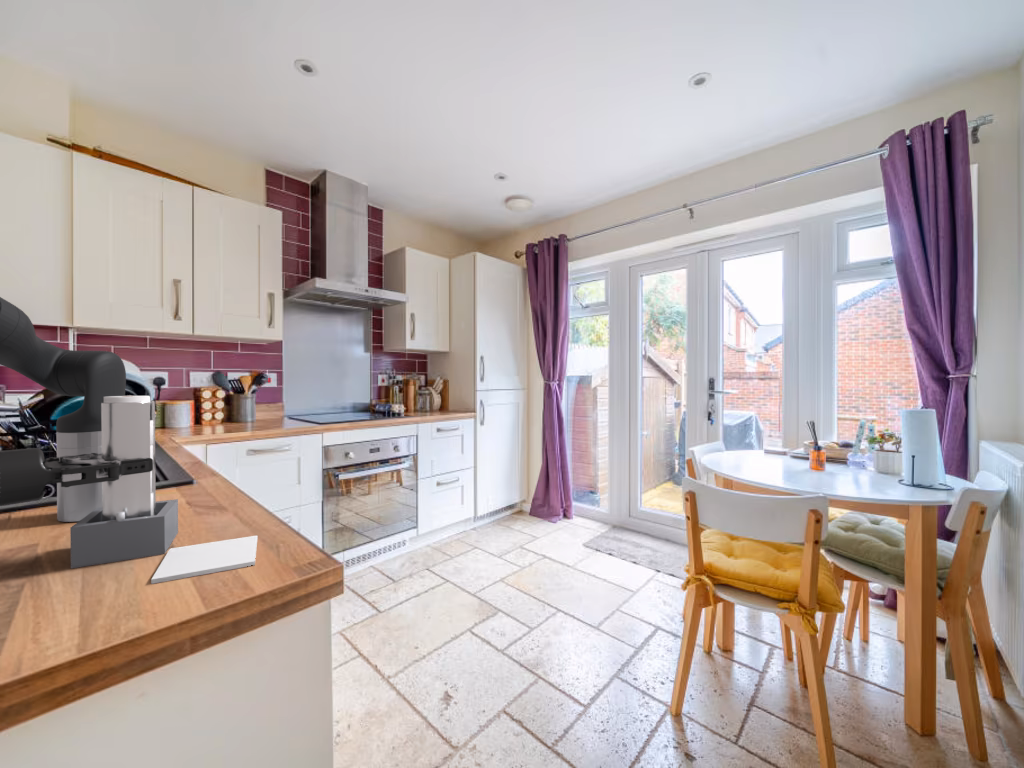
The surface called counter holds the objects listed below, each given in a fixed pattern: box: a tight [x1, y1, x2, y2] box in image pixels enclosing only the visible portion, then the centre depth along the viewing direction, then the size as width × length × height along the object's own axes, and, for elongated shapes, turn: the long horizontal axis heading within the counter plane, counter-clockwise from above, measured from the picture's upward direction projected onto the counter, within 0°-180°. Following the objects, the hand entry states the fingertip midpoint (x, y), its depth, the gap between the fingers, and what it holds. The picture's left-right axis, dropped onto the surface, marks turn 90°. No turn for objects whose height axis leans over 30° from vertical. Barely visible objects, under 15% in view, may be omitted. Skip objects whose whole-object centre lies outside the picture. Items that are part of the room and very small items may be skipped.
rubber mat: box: [150, 535, 259, 585], centre depth 66 cm, size 12×12×1 cm
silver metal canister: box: [101, 394, 157, 522], centre depth 69 cm, size 6×6×25 cm
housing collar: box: [70, 498, 179, 569], centre depth 70 cm, size 11×11×7 cm
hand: (144, 461), depth 71 cm, fingers open, 8 cm apart
